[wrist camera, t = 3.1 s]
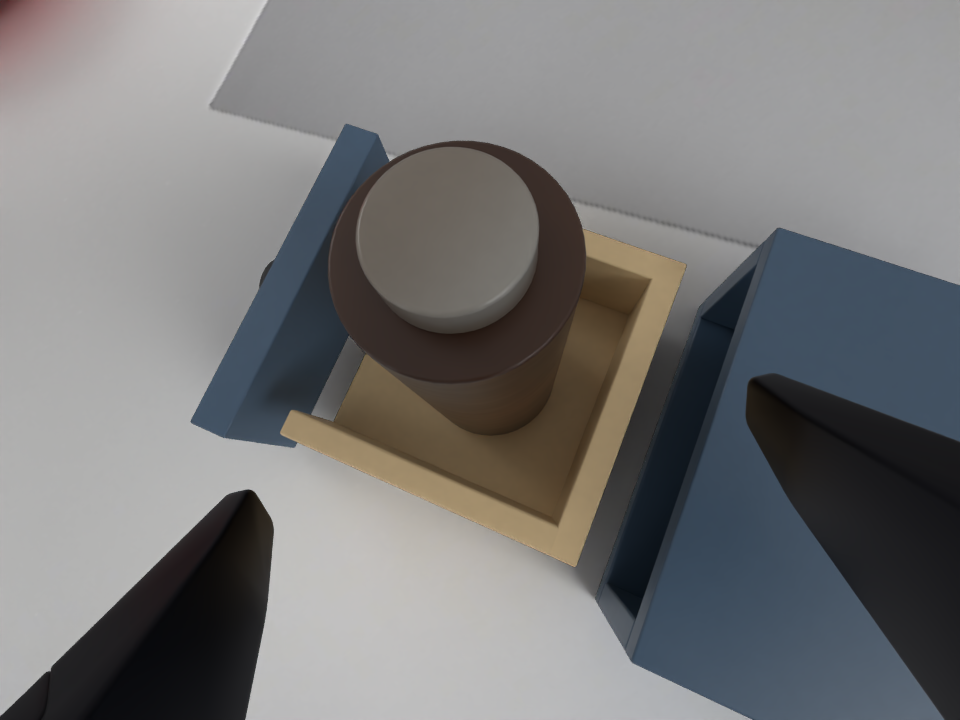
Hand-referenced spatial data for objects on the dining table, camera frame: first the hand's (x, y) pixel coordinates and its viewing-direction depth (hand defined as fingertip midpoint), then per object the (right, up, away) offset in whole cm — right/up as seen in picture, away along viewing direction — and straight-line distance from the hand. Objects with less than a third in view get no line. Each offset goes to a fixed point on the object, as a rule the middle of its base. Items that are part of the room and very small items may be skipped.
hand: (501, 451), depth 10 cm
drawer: (-2, +2, +11) cm, 11 cm away
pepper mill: (0, +1, +9) cm, 9 cm away
